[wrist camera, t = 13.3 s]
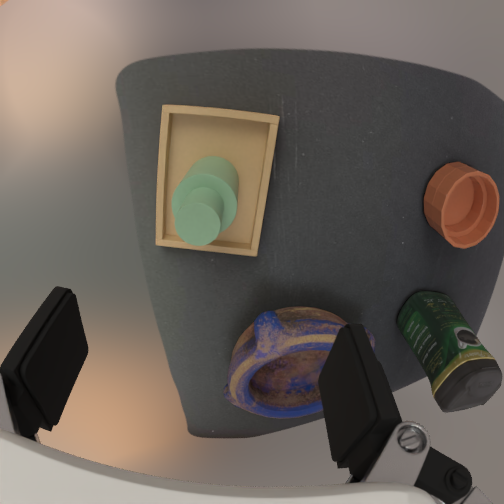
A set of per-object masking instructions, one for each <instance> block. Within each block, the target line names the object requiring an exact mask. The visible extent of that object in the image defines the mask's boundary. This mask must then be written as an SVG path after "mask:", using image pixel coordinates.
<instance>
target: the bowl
mask: <svg viewBox="0 0 504 504" xmlns="http://www.w3.org/2000/svg"><path fill="white" fill-rule="evenodd" d="M346 324H350V323H347V322H345V321H344V320H342V319H341V318H340V317H338V316H337V315H335V314H333V313H331V312H328V311H325V310H322V309H318V308H314V307H303V306H298V307H286V308H281V309H278V310H275V311H266V312H262V313H261V314H260V315H259V316H258V317H257V318H256V319H255V321H254V322H253V323H252V324H251V325H250V326H249V327H248V328H247V329H246V330H245V331H244V332H243V334H242V335H241V336H240V337H239V339H238V341H237V343H236V345H235V347H234V350H233V353H232V357H231V363H230V366H229V370H228V375H227V381H228V384H227V385H226V386H225V387H224V391H223V392H224V397H225V398H226V399H227V400H228V401H230V402H231V403H232V404H233V405H235V406H236V407H239V408H242V409H245V410H247V411H249V412H251V413H255V414H258V415H261V416H265V417H271V418H295V417H301V416H305V415H309V414H313V413H316V412H319V411H322V410H323V406H322V401H321V396H320V391H319V386H318V378H319V375H320V373H321V370H322V368H323V366H324V364H325V362H326V359H327V357H328V355H329V353H330V350H331V348H332V346H333V343H334V341H335V339H336V336H337V334H338V332H339V329H340V328H341V327H344V326H345V325H346ZM364 328H365V327H364ZM365 331H366V333H367V336H368V338H369V341H370V343H371V346H372V348H373V351H375V338H374V337H373V335H372V333H371V332H370V331H369V330H368V329H367V328H365Z"/></svg>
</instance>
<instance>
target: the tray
mask: <svg viewBox="0 0 504 504" xmlns="http://www.w3.org/2000/svg"><path fill="white" fill-rule="evenodd" d="M279 118H280V117H279V116H276V115H270V114H263V113H256V112H248V111H240V110H231V109H222V108H212V107H200V106H186V105H163V107H162V117H161V129H160V142H159V156H158V175H157V200H156V245H159V246H168V247H176V248H185V249H194V250H203V251H211V252H220V253H229V254H238V255H247V256H256V257H257V252H258V246H259V240H260V234H261V228H262V222H263V216H264V210H265V204H266V198H267V192H268V186H269V180H270V173H271V167H272V161H273V155H274V149H275V143H276V136H277V130H278V124H279ZM208 156H217V157H221V158H224V159H226V160H227V161H229V162H230V163H231V164H232V165H233V166H234V167H235V169H236V171H237V173H238V177H239V188H238V203H237V212H236V216H235V218H234V220H233V222H232V223H231V225H230V226H229V227H228V228H227V229H226V230H224V231H223V232H221V233H219V234H218V236H217V238H216V239H215V240H214V241H212V242H211V243H209V244H206V245H202V246H195V245H191V244H188V243H186V242H185V241H183V240H182V239H181V238H180V237H179V235H178V234H177V232H176V229H175V217H174V215H173V212H172V197H173V193H174V191H175V189H176V188H177V186H178V185H179V183H180V182H181V181H182V179H183V178H184V176H185V175H186V174H187V172H188V171H189V169H190V168H191V167H192V165H193V164H194V163H195V162H197V161H198V160H200V159H201V158H204V157H208Z"/></svg>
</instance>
